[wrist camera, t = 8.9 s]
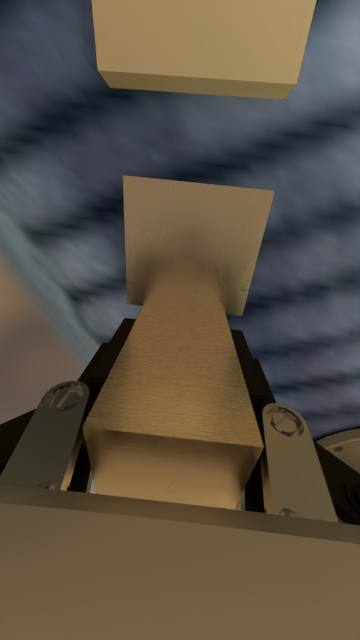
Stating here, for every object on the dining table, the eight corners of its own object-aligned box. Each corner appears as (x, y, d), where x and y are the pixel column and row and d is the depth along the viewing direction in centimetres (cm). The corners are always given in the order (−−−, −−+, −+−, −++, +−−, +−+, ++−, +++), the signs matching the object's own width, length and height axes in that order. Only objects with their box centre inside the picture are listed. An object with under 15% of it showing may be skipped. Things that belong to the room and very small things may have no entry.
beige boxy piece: (224, 370, 13) (253, 525, 7) (131, 360, 13) (74, 505, 7) (269, 191, 8) (487, 152, 2) (127, 177, 8) (-61, 99, 2)
